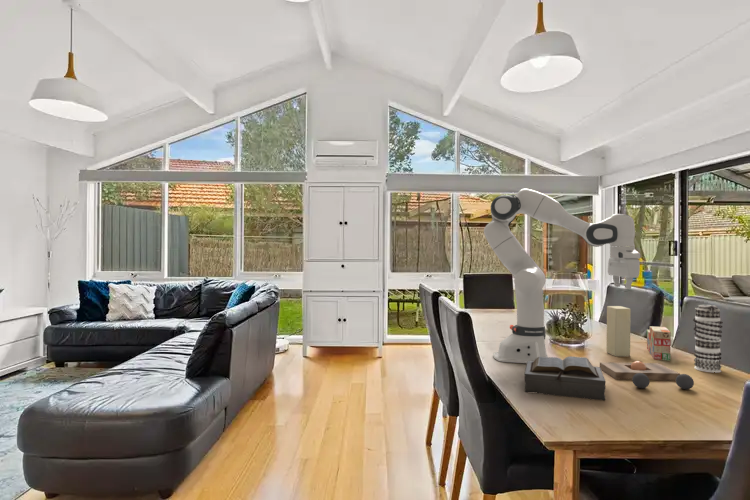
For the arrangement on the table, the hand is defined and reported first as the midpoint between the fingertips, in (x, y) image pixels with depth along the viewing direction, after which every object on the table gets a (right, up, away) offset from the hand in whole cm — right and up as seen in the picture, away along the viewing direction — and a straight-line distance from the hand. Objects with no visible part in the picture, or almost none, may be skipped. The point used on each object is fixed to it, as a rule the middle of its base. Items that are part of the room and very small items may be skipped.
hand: (622, 287), depth 183 cm
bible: (-37, -32, -30) cm, 57 cm away
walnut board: (-2, -31, -15) cm, 35 cm away
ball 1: (-11, -29, -31) cm, 44 cm away
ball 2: (+3, -29, -32) cm, 43 cm away
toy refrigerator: (+8, -31, +17) cm, 36 cm away
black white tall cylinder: (+28, -31, -9) cm, 43 cm away
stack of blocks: (+25, -31, +16) cm, 43 cm away
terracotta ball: (-2, -29, -15) cm, 32 cm away
